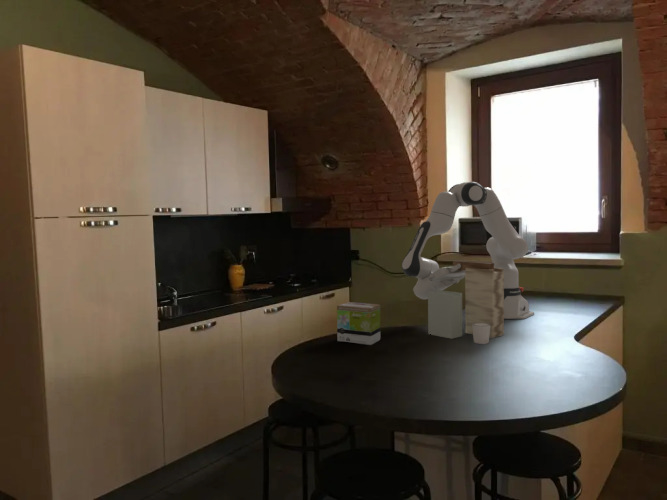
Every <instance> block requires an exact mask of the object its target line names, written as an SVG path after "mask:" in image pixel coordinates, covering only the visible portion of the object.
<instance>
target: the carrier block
mask: <svg viewBox="0 0 667 500" xmlns="http://www.w3.org/2000/svg"><path fill="white" fill-rule="evenodd" d="M427 321H428V322H427V325H428V326H427V329H428V330H427V332H428V335H430V334H431V336H436V337H441V338H446V339H451V340H453V339H455V338H459V337H463V292H458V291H448V290H437V293H436V292H428V299H427Z"/></svg>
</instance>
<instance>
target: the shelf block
mask: <svg viewBox="0 0 667 500" xmlns="http://www.w3.org/2000/svg"><path fill="white" fill-rule="evenodd" d="M464 281H465V283H464V286H465V287H464V290H465V291H464V293H465V295H464V297H465V298H464V299H465V307H464V308H465V334H468V335H469V334H470V335H473V328H472V324H474V323H487V324H490V334H489V339H490V338H491V339H494V338H498V337H500V336H504V335H505V325H504V324H505V319H504V271H503V269H502V268H494V270H489V269H475V268H466V271H465V277H464Z"/></svg>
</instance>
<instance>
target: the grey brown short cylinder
mask: <svg viewBox="0 0 667 500" xmlns="http://www.w3.org/2000/svg"><path fill="white" fill-rule="evenodd" d="M472 328H473V334H472V336H473V337H472V338H473V343H475V344H480V345H487V344H489V342H490V337H489V334H490V324H487V323H474V324H472Z"/></svg>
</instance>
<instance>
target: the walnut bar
mask: <svg viewBox="0 0 667 500" xmlns="http://www.w3.org/2000/svg"><path fill="white" fill-rule="evenodd" d="M460 263H461V264H462V266H463V267H462V268H460V269H458V270H466V268H475V269H489V270H494V263H492V262H487V261H486V262H485V261H473V260H469V261H468V260H467V261H466V260H454V261H453V260H452V266H455V265H457V264H460Z"/></svg>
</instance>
